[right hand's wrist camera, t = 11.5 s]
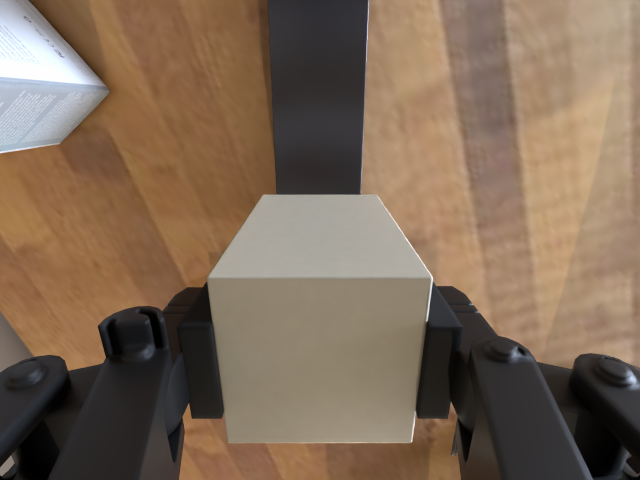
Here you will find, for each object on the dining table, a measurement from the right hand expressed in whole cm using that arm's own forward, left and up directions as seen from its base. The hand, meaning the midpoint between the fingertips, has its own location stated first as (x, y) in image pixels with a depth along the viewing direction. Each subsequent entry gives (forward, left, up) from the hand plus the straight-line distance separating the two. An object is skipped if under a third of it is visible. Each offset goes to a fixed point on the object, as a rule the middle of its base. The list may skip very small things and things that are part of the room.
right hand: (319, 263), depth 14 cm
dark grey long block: (0, -8, -19) cm, 21 cm away
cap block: (0, 0, -2) cm, 2 cm away
